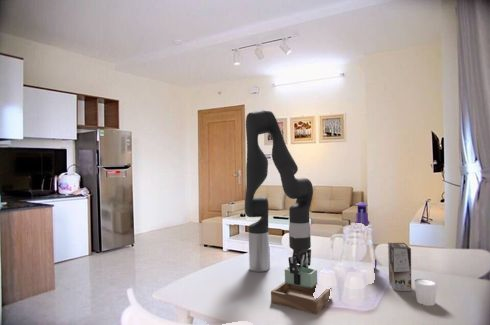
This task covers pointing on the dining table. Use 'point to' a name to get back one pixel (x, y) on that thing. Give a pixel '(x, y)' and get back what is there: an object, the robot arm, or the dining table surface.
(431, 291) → the white cup
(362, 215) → the lantern
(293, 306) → the walnut crate
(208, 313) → the dining table surface
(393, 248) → the coffee box
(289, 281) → the sage crate
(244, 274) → the dining table surface
